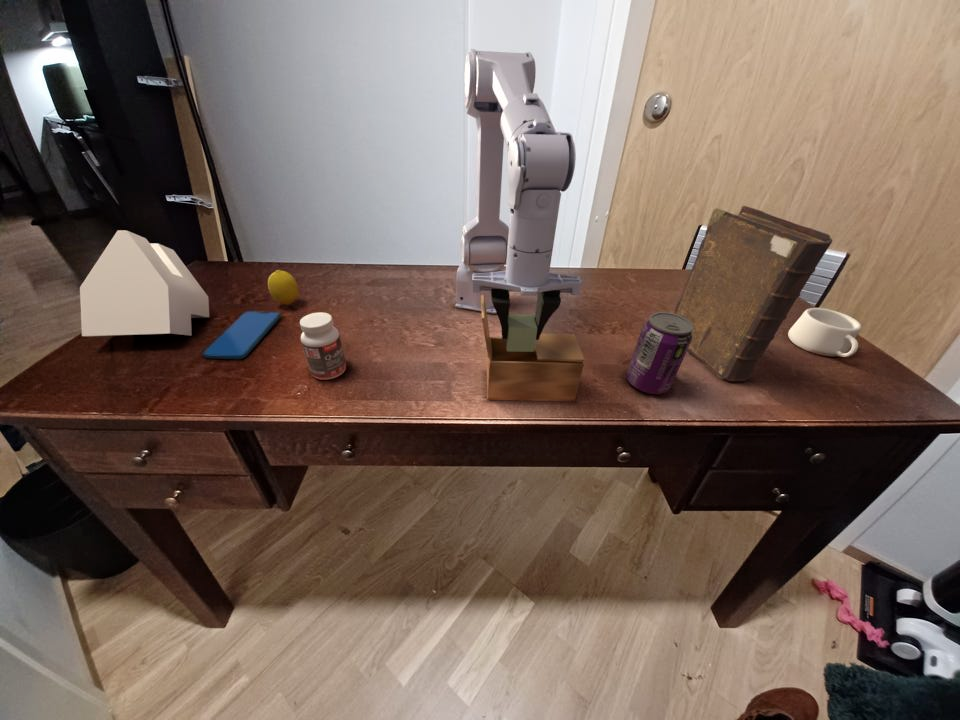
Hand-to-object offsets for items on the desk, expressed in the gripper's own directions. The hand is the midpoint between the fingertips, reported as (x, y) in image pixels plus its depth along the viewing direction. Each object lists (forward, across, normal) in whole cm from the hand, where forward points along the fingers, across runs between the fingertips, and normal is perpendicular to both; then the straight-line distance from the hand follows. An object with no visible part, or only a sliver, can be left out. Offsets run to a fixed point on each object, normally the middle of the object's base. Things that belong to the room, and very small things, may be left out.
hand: (519, 335), depth 54 cm
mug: (+10, +62, +14) cm, 64 cm away
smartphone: (+10, -50, +13) cm, 53 cm away
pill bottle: (+10, -31, +3) cm, 33 cm away
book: (+10, +37, +10) cm, 39 cm away
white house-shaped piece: (+10, -68, +18) cm, 71 cm away
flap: (-2, -5, 0) cm, 5 cm away
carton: (+10, +2, 0) cm, 10 cm away
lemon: (+10, -47, +26) cm, 55 cm away
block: (+1, 0, 0) cm, 1 cm away
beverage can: (+10, +23, +1) cm, 25 cm away
